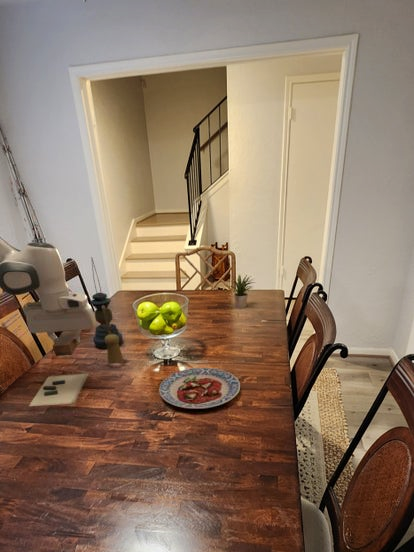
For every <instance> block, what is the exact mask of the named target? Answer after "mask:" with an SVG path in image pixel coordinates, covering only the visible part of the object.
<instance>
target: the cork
mask: <svg viewBox="0 0 414 552" xmlns="http://www.w3.org/2000/svg"><path fill="white" fill-rule="evenodd" d="M105 343H106V344H107V349H106V352H107V353H106V354H107V362H108V363H109V364H121V365H122V364H124V363H125V360H124V359H125V358H124V356H123V354H122V350H121V347H120V345H119V344H118V343H119V337H118V336H117V335H115V334H110V335H107V336H106V337H105Z"/></svg>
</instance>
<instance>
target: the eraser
mask: <svg viewBox="0 0 414 552" xmlns="http://www.w3.org/2000/svg"><path fill="white" fill-rule="evenodd" d="M76 336H77V333H75V330H72V331H62V332H61V333H60V335H59V336H58V337H57V338H58V339H57V341H56V342H55V343H54V342H53V345H52V350H53V352H54V356H55V357H63V356H64V357H65V356H73V354H74V352H75V350H76V349H77V347H78V346H79V344H80V343H74V340H73V338H74V337H76ZM79 338H80V342H81V340H82V339H81V335H80V336H79Z"/></svg>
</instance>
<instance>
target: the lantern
mask: <svg viewBox="0 0 414 552" xmlns="http://www.w3.org/2000/svg"><path fill="white" fill-rule="evenodd" d="M90 259H91V268H92V269H91V270H94V271H95V274H96V278H97V281H98V285H99V291H100V292H98V291H97V285H96V282H95V274H94V272H92V278H93V284H94V289H95V293H94V294H93V295H91V297H92V300H90V305H92V307H94V308H95V311H94V315H95V319H96V323H99V325H97V326H95V332H94V336H93V343H94V345H95V346H96V348H98V349H100V350H101V349H102V350H107V344H106V343H105V337H106V336H107V335H110V334H115V335H117V336H118V337H119V343H118V344H119V346H120V345H122V343H123V334H122V333H121V332H119V329H118V328H117V325H116V324H114V323H112V320H113V317H114V316H113V312H112V310H111V309H110V308H109V305H110V304H111V301H112V299H111V298H109V297H108V295H107V293H104V292H102V289H101V288H102V287H101V284H100V279H99V276H98V273H97V269H96V265H95V262H94V258H93V256H91V257H90Z"/></svg>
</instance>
